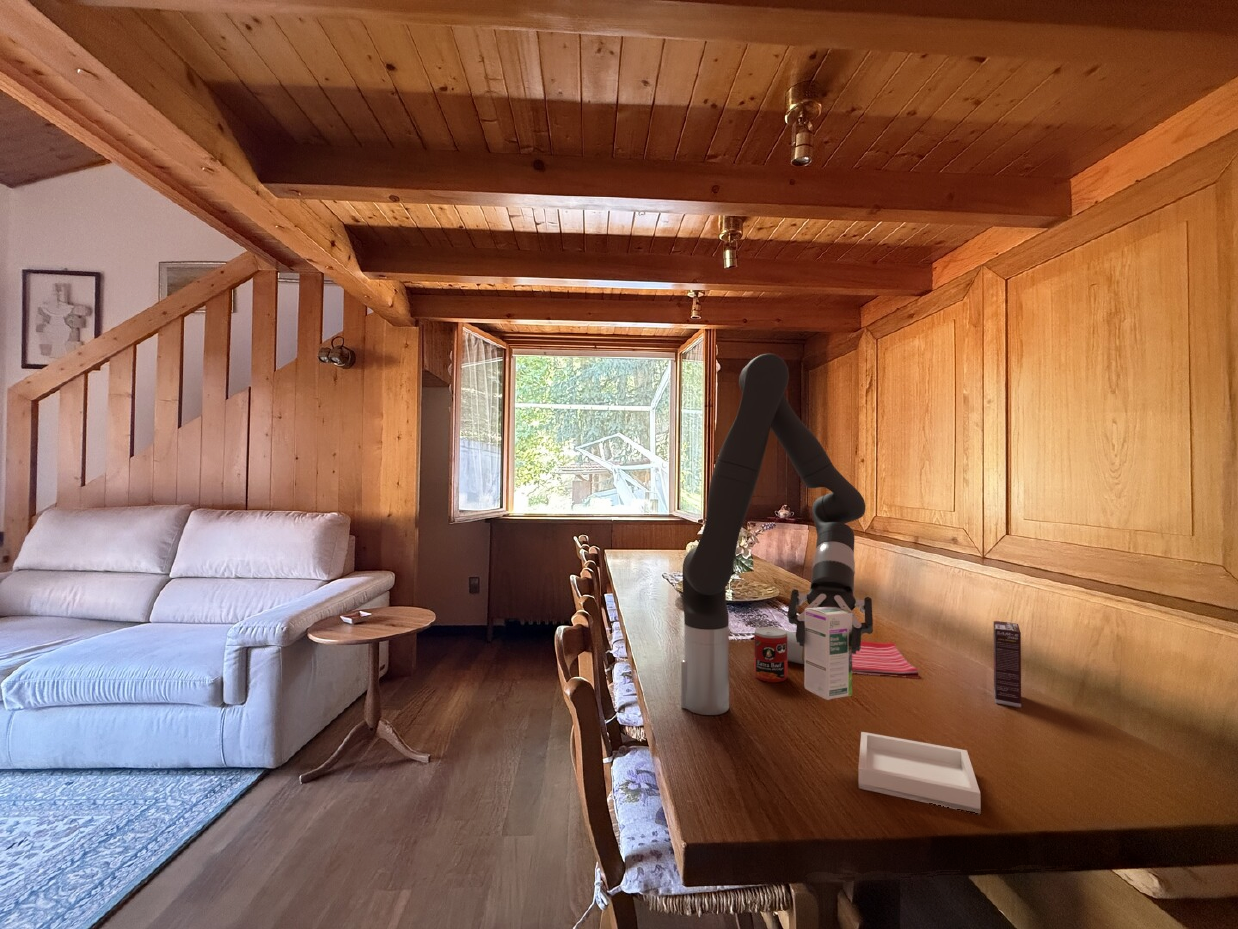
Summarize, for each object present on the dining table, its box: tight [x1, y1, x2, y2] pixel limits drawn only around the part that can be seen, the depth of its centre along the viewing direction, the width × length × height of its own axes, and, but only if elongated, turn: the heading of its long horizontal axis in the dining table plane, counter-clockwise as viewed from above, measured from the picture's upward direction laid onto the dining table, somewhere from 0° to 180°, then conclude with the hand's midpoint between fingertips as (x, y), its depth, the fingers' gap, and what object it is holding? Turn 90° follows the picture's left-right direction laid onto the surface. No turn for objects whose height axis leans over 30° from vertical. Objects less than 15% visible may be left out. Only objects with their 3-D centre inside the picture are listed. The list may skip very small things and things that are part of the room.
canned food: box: [753, 626, 788, 683], centre depth 135 cm, size 8×8×11 cm
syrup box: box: [803, 607, 853, 701], centre depth 98 cm, size 6×6×14 cm
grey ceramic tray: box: [857, 731, 982, 815], centre depth 90 cm, size 16×14×3 cm
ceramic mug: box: [784, 629, 805, 665], centre depth 148 cm, size 11×8×8 cm
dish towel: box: [852, 640, 920, 678], centre depth 148 cm, size 17×24×3 cm
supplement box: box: [993, 620, 1022, 709], centre depth 122 cm, size 9×5×16 cm, turn 148°
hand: (827, 647), depth 97 cm, fingers closed on syrup box, 8 cm apart
